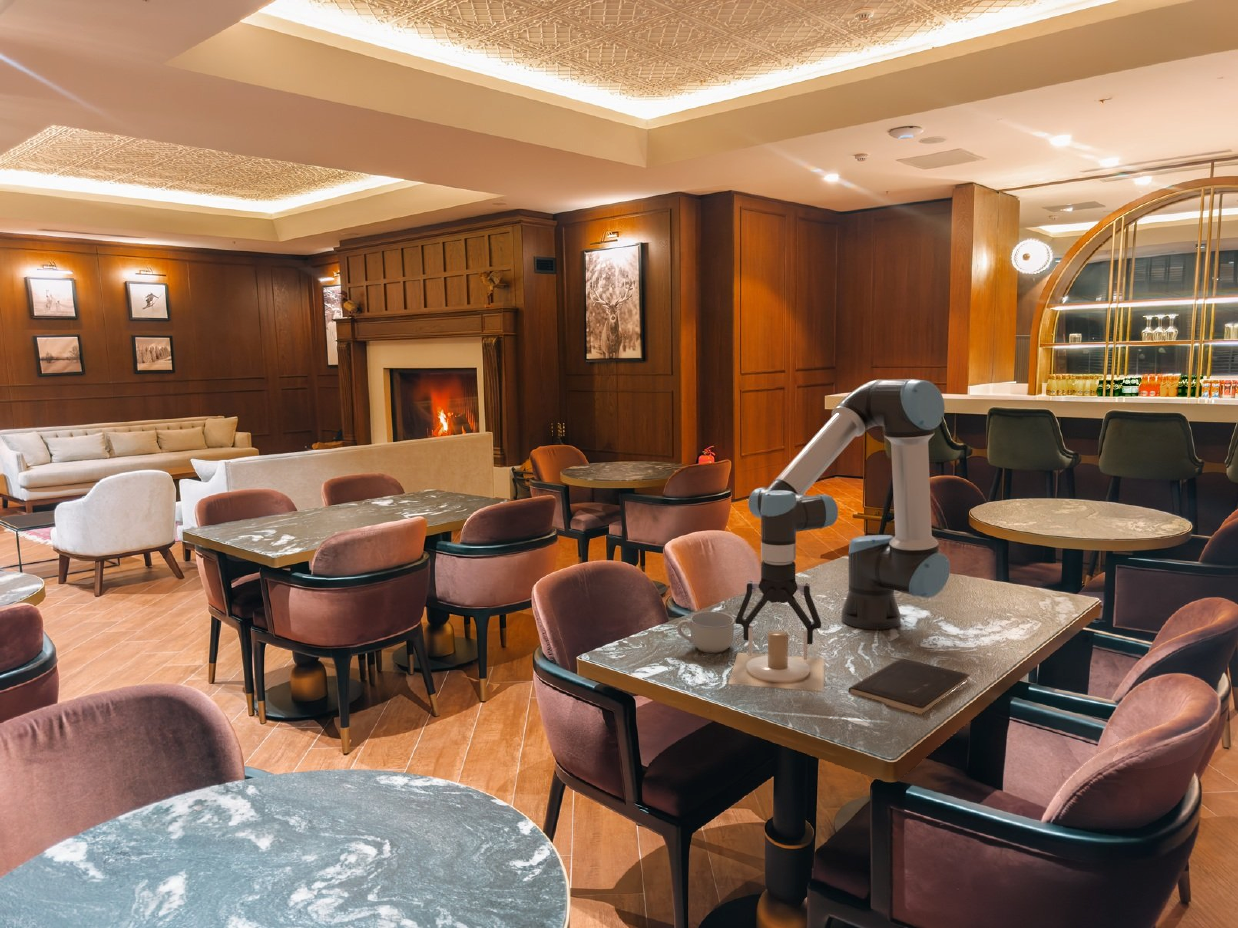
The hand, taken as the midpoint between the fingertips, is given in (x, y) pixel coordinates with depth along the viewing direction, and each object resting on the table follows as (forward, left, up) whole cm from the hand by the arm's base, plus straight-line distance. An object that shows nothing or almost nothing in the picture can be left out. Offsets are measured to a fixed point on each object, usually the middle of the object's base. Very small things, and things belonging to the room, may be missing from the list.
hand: (777, 655), depth 184 cm
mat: (0, 0, -4) cm, 4 cm away
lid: (0, 0, -3) cm, 3 cm away
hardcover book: (-28, +3, -5) cm, 28 cm away
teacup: (+18, -12, -4) cm, 22 cm away
